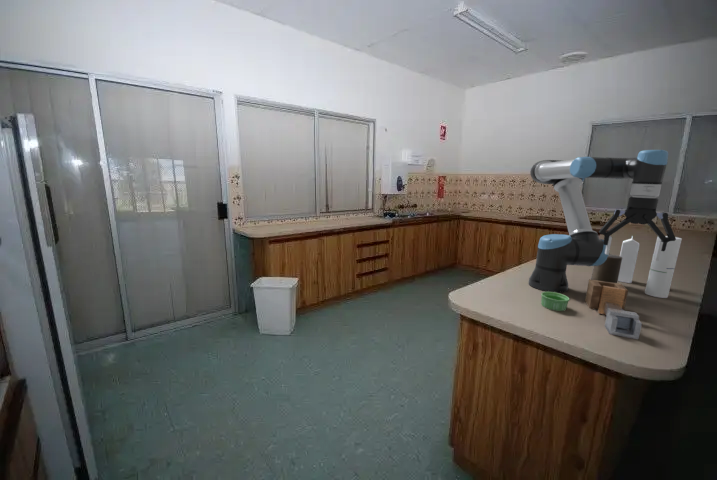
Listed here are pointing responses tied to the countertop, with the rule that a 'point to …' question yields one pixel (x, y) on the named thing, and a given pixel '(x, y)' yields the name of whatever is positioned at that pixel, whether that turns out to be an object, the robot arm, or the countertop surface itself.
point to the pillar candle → (608, 269)
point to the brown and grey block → (613, 304)
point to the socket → (596, 290)
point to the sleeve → (630, 332)
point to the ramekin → (554, 301)
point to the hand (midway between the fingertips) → (630, 256)
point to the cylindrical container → (663, 270)
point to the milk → (628, 260)
